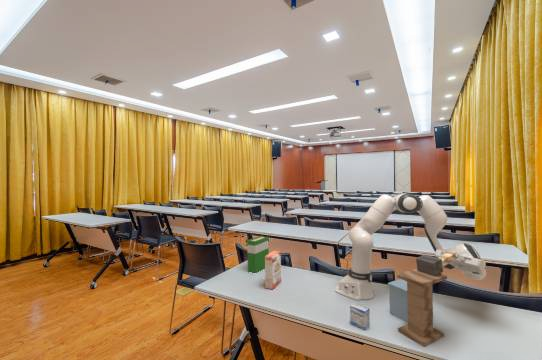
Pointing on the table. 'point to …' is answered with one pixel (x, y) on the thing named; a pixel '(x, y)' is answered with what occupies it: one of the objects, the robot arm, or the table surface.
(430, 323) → the stand
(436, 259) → the mallet
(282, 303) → the table surface
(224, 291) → the table surface
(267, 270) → the cracker box
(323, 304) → the table surface
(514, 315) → the table surface
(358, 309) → the medicine box
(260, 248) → the hardback book
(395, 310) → the grey-blue block
